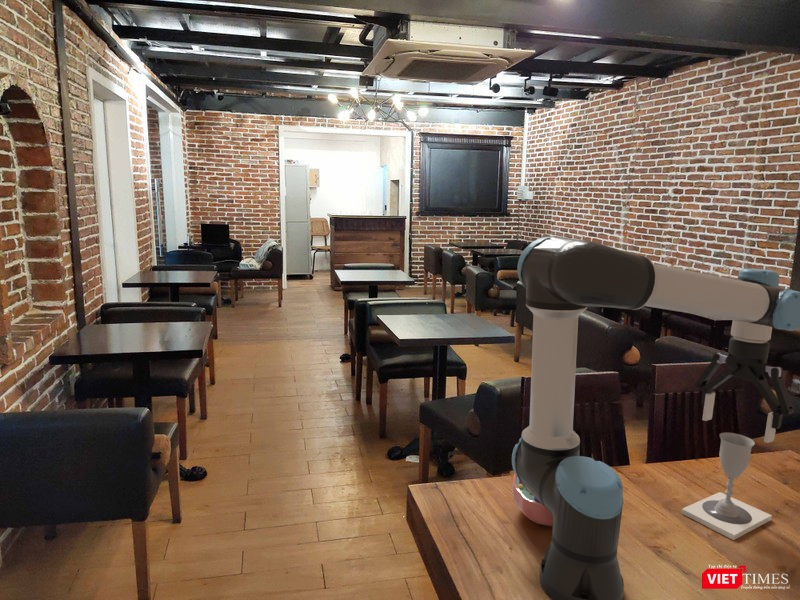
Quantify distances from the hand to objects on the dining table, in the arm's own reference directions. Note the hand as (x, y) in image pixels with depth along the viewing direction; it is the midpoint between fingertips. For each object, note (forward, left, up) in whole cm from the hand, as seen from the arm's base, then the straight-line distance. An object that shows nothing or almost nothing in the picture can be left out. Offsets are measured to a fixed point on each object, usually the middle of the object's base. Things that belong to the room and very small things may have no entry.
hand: (736, 430), depth 125 cm
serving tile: (0, 0, -22) cm, 22 cm away
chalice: (0, 0, -20) cm, 20 cm away
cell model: (-37, +20, -22) cm, 47 cm away
